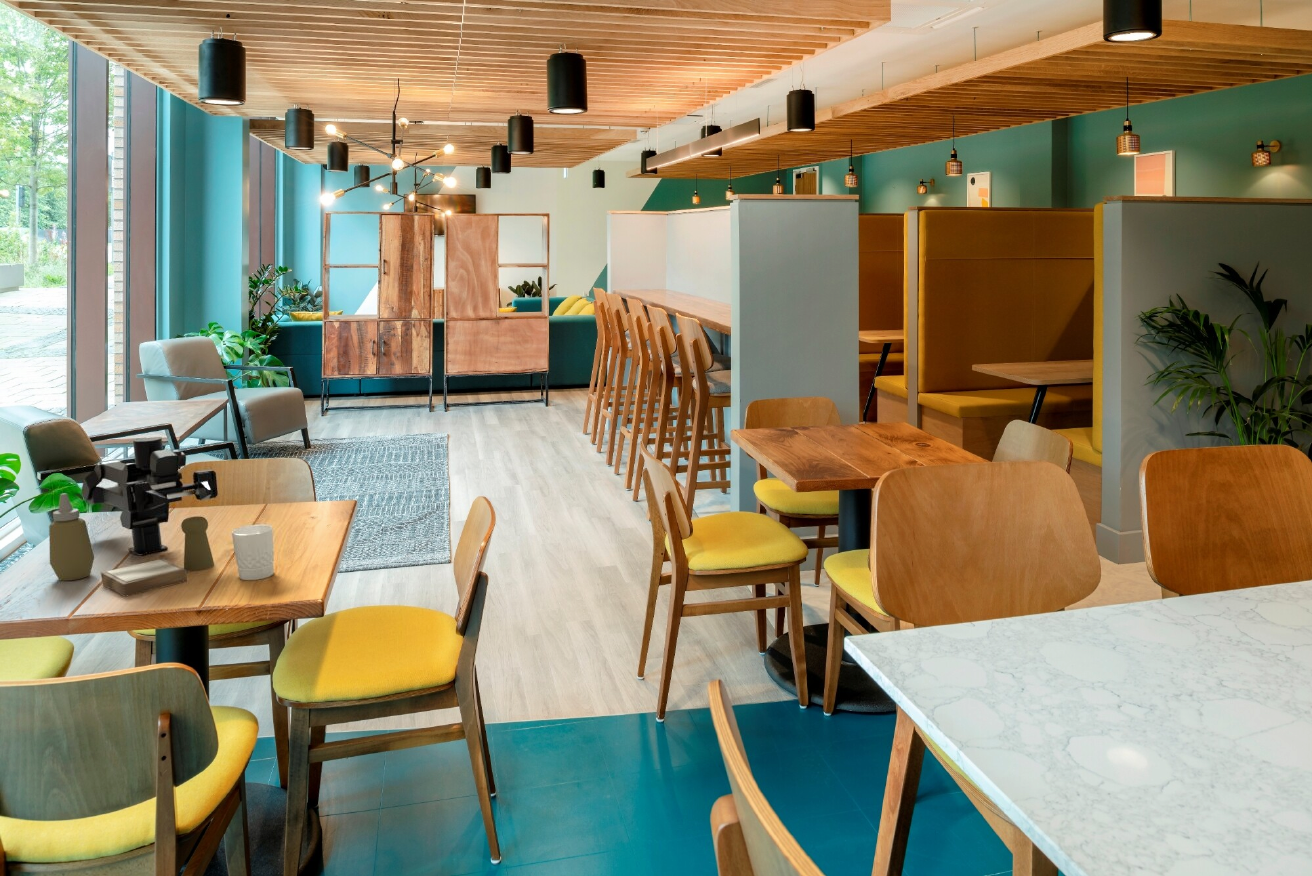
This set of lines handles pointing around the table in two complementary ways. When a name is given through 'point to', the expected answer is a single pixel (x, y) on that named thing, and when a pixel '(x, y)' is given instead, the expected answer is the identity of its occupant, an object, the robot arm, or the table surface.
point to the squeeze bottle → (69, 543)
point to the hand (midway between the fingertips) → (188, 496)
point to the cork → (196, 544)
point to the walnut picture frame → (143, 577)
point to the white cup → (254, 551)
